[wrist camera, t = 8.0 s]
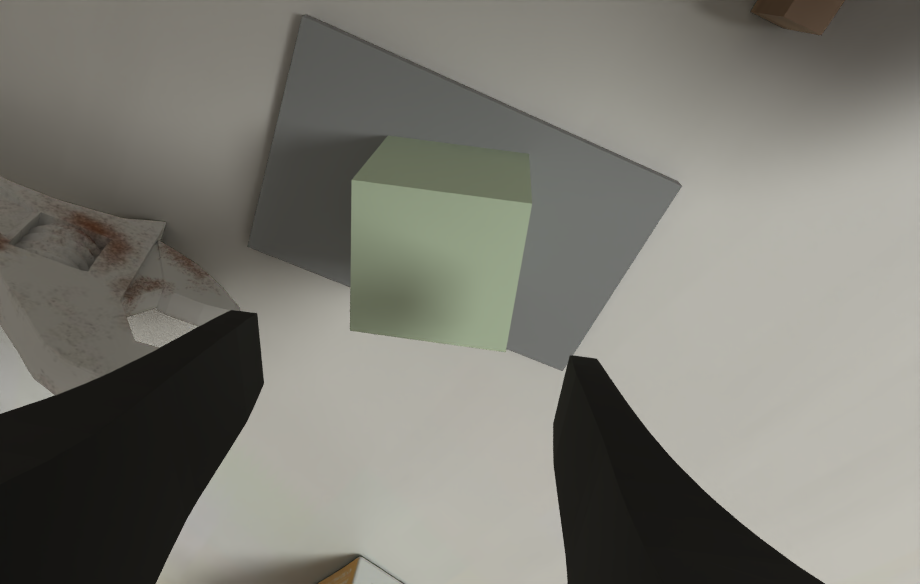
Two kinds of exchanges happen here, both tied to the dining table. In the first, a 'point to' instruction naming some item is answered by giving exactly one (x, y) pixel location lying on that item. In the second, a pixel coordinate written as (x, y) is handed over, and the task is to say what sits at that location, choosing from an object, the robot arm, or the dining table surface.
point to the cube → (438, 242)
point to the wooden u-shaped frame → (799, 13)
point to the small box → (360, 574)
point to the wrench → (89, 286)
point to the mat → (463, 123)
